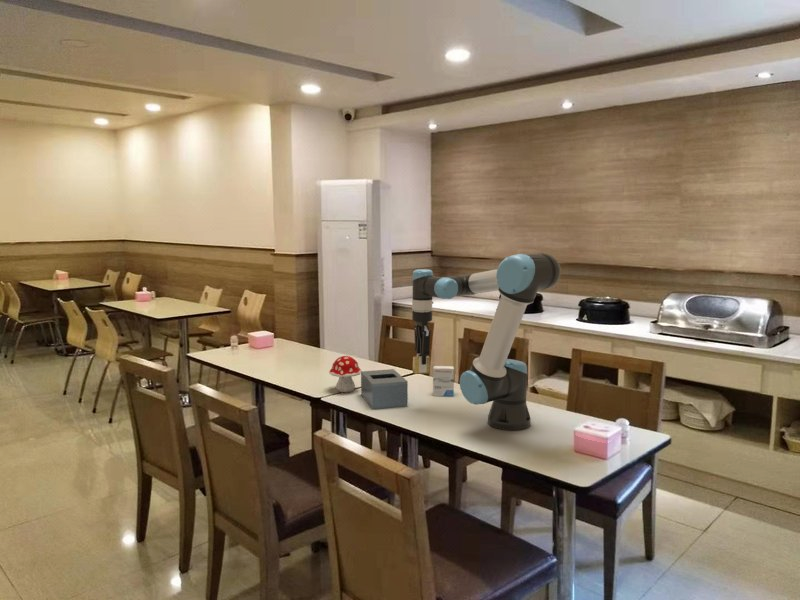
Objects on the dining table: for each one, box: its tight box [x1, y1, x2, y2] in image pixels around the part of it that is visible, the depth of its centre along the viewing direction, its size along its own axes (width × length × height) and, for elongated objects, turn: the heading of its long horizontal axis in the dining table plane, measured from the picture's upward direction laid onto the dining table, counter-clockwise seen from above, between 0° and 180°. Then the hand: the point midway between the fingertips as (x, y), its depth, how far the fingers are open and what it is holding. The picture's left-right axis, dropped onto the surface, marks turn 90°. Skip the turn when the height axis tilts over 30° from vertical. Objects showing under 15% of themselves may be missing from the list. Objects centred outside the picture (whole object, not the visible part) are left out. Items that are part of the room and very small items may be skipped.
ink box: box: [432, 365, 455, 397], centre depth 246 cm, size 8×5×12 cm, turn 84°
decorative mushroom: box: [328, 355, 362, 393], centre depth 251 cm, size 14×14×15 cm
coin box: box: [360, 368, 409, 410], centre depth 238 cm, size 20×14×10 cm
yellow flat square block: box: [412, 355, 431, 375], centre depth 226 cm, size 2×6×6 cm, turn 106°
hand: (421, 371), depth 226 cm, fingers closed on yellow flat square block, 2 cm apart
